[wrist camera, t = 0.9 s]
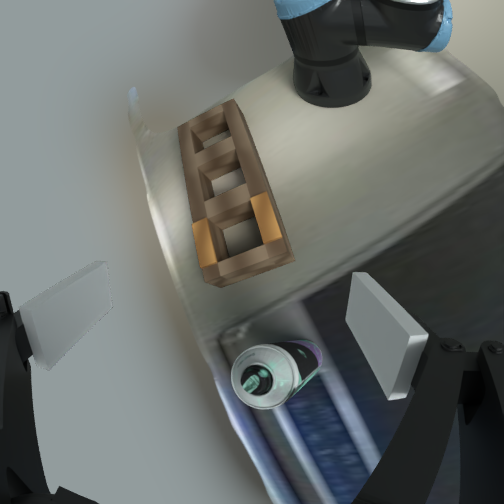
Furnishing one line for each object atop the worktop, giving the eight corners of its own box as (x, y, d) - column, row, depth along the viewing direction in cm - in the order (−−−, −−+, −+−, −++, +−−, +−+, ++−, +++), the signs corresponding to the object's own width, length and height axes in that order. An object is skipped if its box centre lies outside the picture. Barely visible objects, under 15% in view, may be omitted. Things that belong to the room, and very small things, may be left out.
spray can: (326, 343, 37) (296, 355, 19) (317, 382, 35) (278, 427, 17) (287, 335, 39) (224, 337, 21) (279, 373, 38) (209, 404, 20)
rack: (243, 114, 52) (232, 96, 47) (295, 260, 41) (286, 250, 36) (190, 141, 55) (176, 125, 50) (220, 287, 44) (203, 281, 39)
